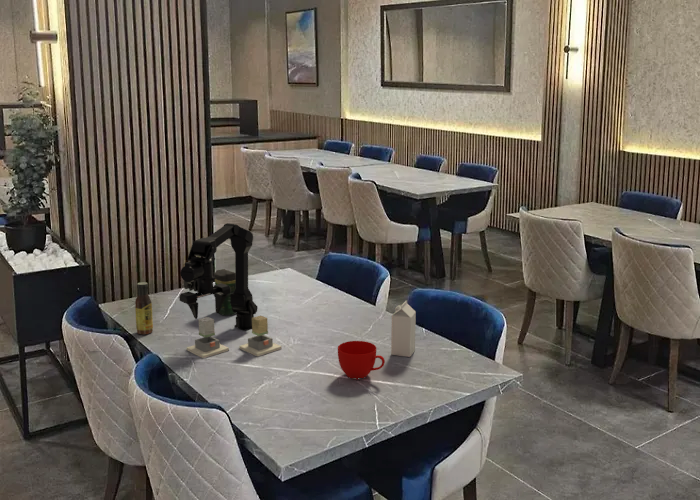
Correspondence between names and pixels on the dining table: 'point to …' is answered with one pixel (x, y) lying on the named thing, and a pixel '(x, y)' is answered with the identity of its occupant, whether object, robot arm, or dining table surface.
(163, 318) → the dining table surface
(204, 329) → the column
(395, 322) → the milk carton
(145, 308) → the sauce bottle
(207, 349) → the stand
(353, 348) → the ceramic cup
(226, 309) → the coffee jar
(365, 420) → the dining table surface
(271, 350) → the stand
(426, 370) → the dining table surface
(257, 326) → the column
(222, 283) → the robot arm
